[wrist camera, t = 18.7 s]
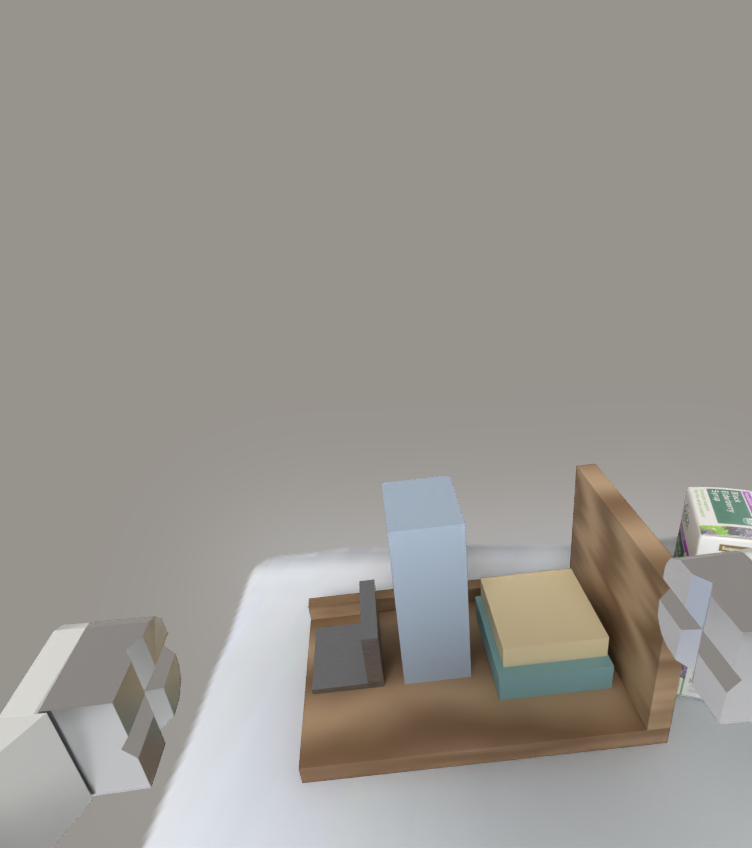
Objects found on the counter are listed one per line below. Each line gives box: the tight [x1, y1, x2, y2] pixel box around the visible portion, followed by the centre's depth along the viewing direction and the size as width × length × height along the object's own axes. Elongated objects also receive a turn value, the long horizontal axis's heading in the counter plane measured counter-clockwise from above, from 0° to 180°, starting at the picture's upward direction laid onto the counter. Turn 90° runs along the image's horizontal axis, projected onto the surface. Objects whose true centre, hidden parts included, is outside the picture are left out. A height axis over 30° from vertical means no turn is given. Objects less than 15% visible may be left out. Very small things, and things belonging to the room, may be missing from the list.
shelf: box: [299, 464, 683, 783], centre depth 40 cm, size 14×24×14 cm, turn 93°
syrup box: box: [674, 487, 752, 699], centre depth 38 cm, size 6×6×14 cm
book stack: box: [475, 568, 614, 700], centre depth 41 cm, size 8×8×4 cm
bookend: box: [312, 580, 385, 694], centre depth 42 cm, size 6×5×5 cm
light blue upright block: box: [382, 476, 471, 684], centre depth 40 cm, size 5×6×14 cm
